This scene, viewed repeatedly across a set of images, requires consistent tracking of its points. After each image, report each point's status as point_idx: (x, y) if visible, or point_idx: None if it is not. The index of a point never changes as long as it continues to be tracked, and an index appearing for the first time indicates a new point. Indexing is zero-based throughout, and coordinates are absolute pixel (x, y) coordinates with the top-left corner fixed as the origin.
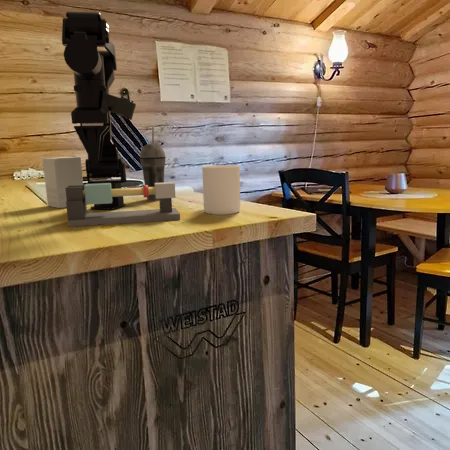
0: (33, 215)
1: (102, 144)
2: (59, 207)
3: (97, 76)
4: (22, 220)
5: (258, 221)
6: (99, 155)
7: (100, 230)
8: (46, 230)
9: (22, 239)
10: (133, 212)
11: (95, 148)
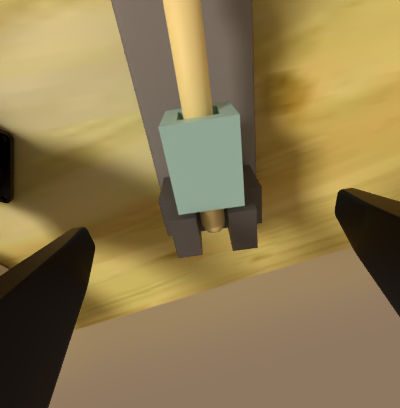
0: (103, 284)
1: (3, 297)
2: (7, 269)
3: None
4: (157, 284)
5: None
6: (73, 250)
7: (323, 105)
8: (274, 218)
9: (340, 231)
10: (161, 28)
11: None
